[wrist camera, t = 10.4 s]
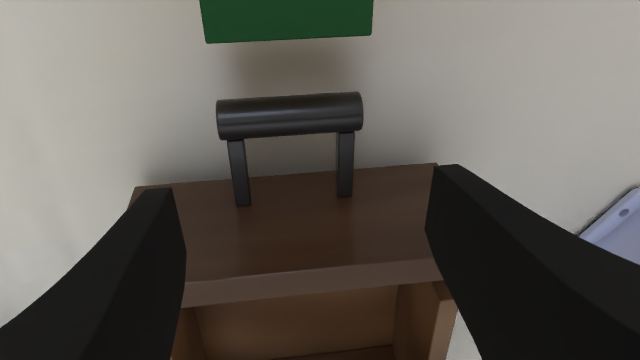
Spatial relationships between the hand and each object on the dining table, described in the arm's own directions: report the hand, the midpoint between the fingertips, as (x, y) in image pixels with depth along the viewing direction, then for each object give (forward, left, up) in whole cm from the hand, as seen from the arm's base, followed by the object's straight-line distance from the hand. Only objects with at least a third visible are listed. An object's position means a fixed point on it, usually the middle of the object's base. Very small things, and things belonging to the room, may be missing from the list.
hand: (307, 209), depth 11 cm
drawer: (+6, +4, -7) cm, 11 cm away
